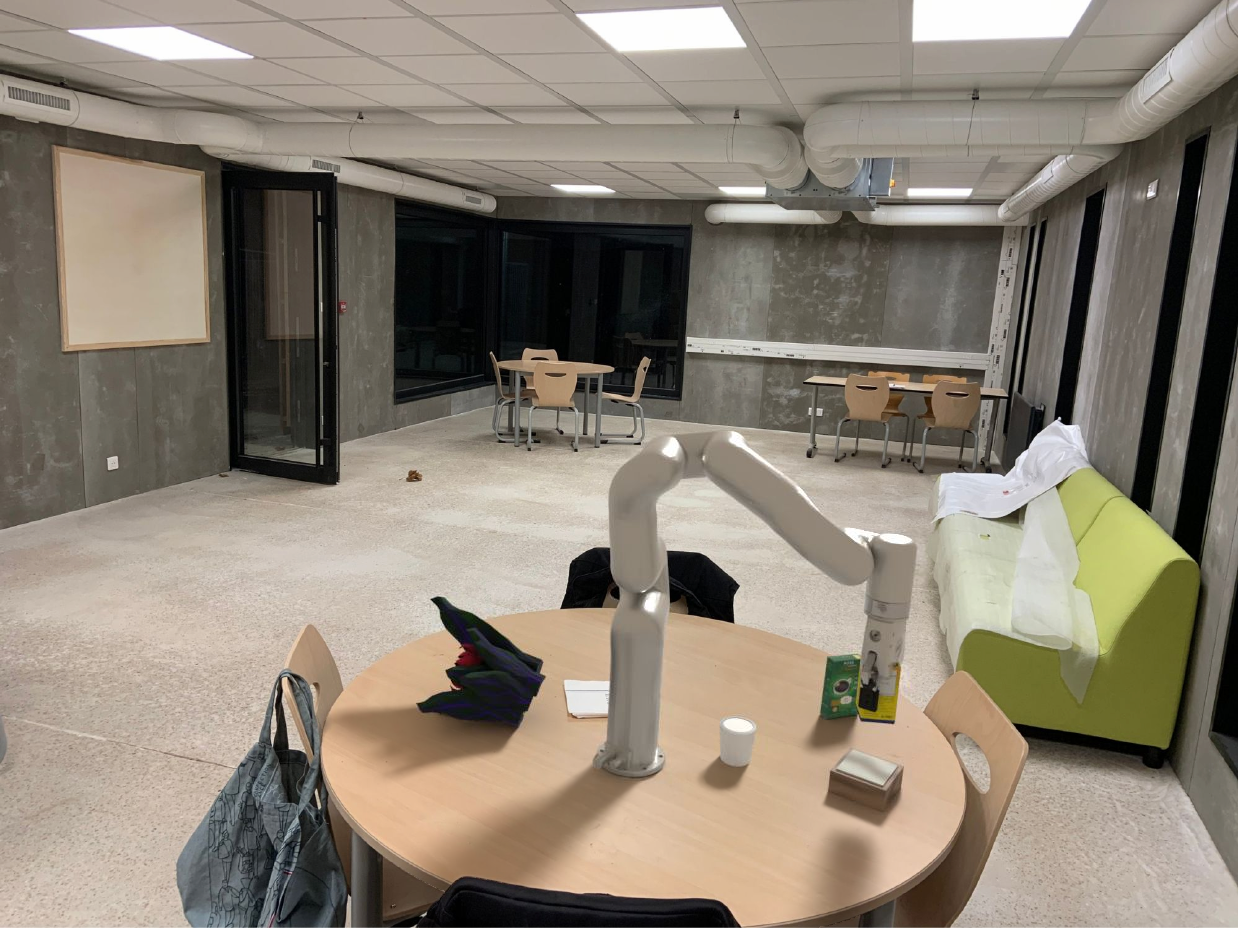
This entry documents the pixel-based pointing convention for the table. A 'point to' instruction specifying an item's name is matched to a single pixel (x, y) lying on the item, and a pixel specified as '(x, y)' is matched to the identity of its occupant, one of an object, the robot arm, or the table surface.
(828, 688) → the coffee box
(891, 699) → the supplement box
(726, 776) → the table surface
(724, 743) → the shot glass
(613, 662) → the robot arm
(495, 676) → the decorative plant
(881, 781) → the brown small box
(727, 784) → the table surface
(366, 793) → the table surface
